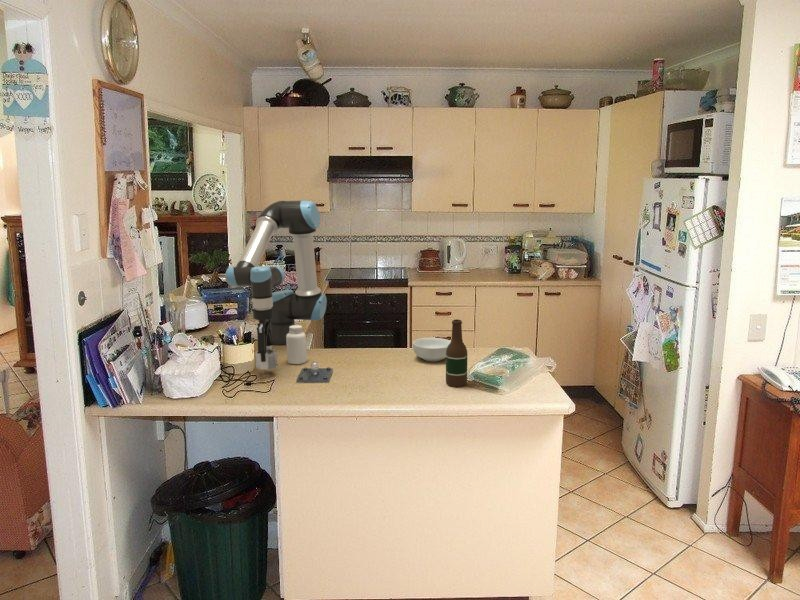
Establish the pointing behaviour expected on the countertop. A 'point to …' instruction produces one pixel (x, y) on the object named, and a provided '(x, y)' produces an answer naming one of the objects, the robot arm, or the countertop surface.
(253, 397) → the countertop surface
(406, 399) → the countertop surface
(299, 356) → the pill bottle
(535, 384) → the countertop surface
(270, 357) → the hub
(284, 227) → the robot arm
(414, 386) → the countertop surface
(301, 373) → the shaft stand
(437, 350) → the cereal bowl
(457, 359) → the beer bottle
